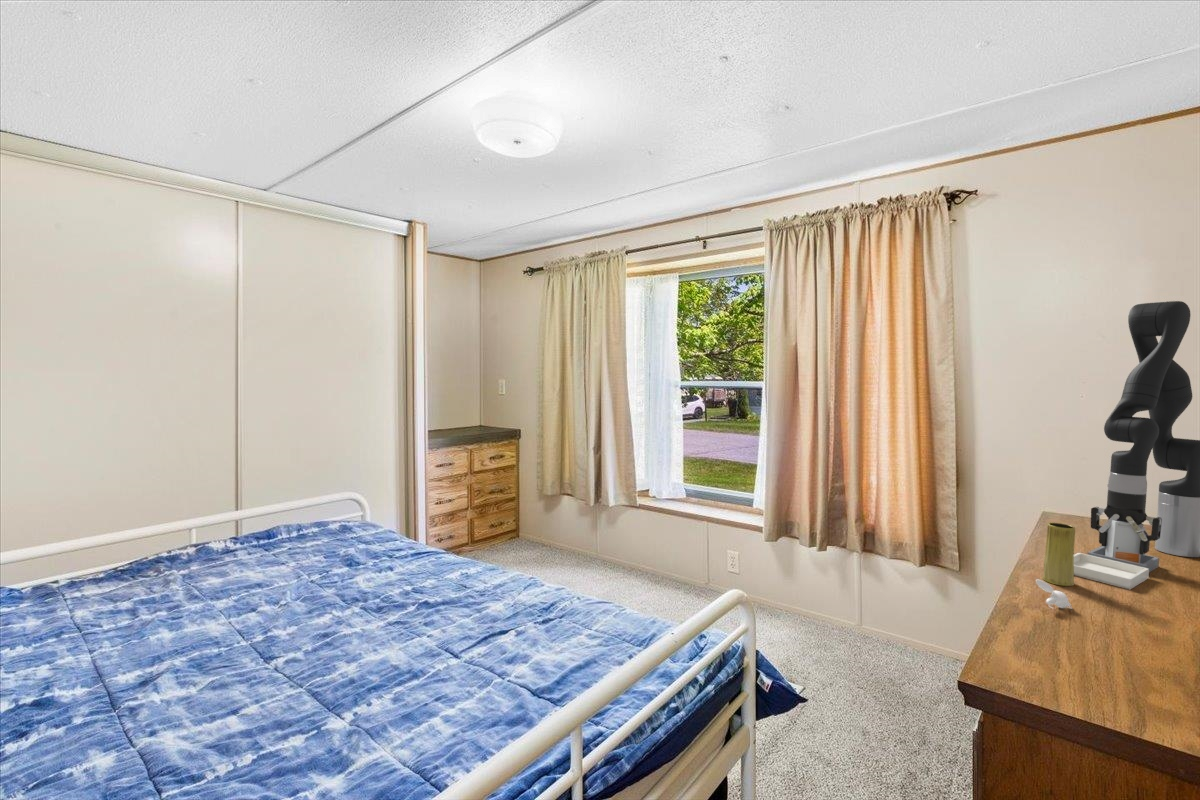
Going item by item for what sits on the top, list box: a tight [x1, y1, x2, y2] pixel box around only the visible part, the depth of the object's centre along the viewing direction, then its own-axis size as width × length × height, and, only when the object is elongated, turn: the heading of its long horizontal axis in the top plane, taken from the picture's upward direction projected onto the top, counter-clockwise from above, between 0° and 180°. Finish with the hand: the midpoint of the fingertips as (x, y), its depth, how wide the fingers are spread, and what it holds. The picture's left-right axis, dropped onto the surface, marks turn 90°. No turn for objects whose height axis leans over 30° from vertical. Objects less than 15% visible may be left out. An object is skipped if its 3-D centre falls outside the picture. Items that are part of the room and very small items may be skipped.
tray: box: [1074, 552, 1150, 590], centre depth 140 cm, size 14×14×2 cm
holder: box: [1087, 545, 1160, 573], centre depth 148 cm, size 12×12×2 cm
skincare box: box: [1105, 517, 1144, 564], centre depth 148 cm, size 6×4×12 cm
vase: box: [1041, 522, 1076, 587], centre depth 135 cm, size 6×6×14 cm
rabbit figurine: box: [1035, 579, 1073, 610], centre depth 120 cm, size 6×4×8 cm
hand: (1122, 549), depth 148 cm, fingers closed on skincare box, 7 cm apart
